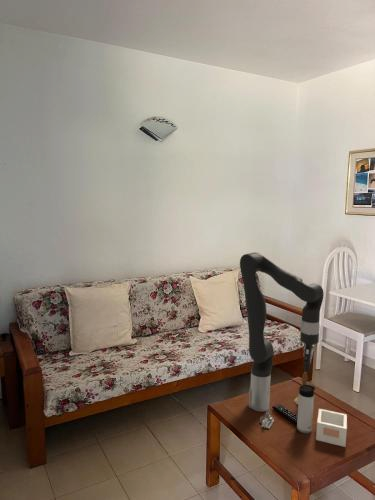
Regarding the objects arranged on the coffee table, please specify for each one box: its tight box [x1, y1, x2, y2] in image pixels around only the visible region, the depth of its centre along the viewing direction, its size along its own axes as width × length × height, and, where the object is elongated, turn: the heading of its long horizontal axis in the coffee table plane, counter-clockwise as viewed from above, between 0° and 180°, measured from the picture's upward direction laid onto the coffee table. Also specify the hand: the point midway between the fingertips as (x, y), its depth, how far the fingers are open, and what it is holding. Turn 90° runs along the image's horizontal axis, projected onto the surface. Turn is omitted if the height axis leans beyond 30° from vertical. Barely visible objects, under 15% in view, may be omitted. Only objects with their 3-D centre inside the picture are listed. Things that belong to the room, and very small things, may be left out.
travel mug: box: [296, 384, 316, 434], centre depth 165 cm, size 6×7×20 cm
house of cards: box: [259, 408, 275, 430], centre depth 171 cm, size 9×9×8 cm
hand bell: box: [293, 371, 308, 406], centre depth 187 cm, size 8×8×16 cm
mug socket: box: [315, 408, 348, 448], centre depth 161 cm, size 11×12×8 cm
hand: (307, 367), depth 162 cm, fingers open, 8 cm apart
